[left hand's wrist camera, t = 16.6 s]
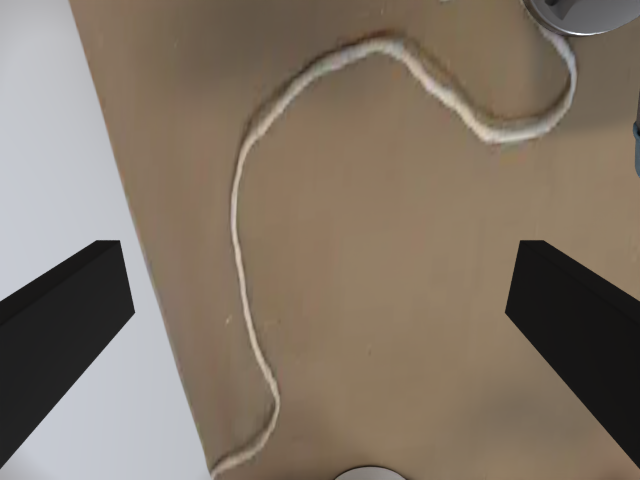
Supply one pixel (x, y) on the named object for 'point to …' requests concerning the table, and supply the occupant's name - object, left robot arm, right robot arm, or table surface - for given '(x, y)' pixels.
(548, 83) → the table surface
